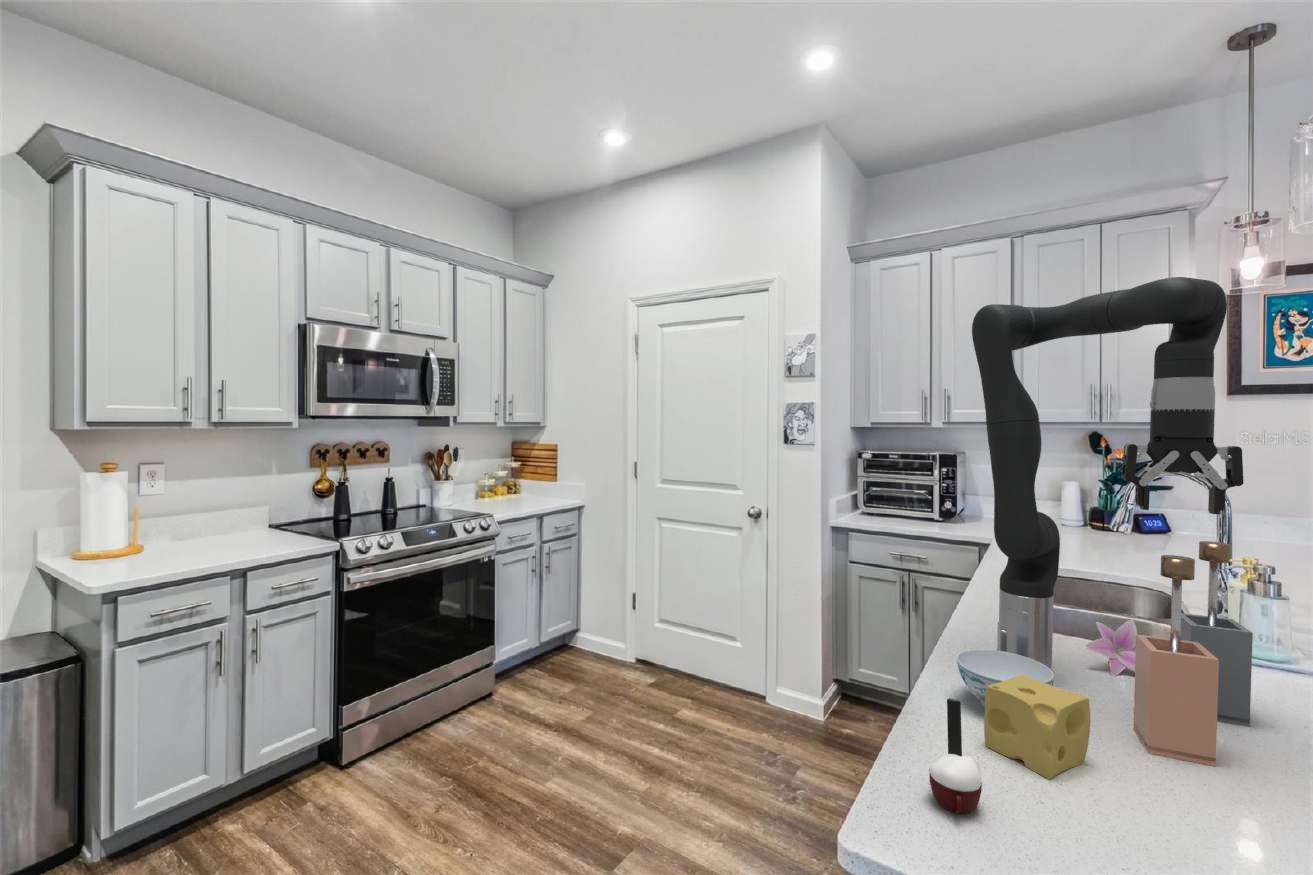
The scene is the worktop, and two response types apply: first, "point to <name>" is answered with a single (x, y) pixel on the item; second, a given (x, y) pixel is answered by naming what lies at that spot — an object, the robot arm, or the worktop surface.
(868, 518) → the worktop surface
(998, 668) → the chinaware
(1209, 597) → the tall bronze-capped rod
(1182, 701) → the press terracotta
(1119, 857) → the worktop surface
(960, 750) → the rounded three-tone fixture
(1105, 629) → the lily
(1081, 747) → the cheese
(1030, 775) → the worktop surface
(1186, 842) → the worktop surface
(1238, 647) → the grey square holder
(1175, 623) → the bronze knob plunger
